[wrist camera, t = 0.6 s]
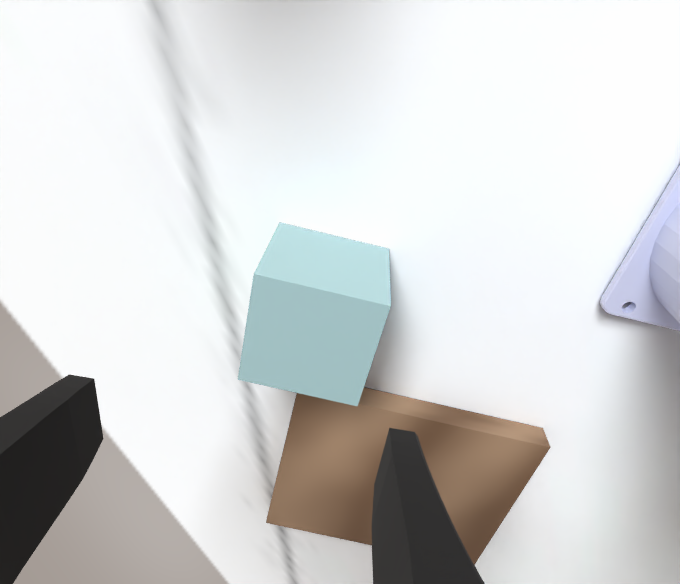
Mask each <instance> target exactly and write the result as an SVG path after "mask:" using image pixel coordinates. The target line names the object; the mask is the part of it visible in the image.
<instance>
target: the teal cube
mask: <svg viewBox="0 0 680 584" xmlns="http://www.w3.org/2000/svg"><path fill="white" fill-rule="evenodd" d="M390 307H391V293H390V260H389V249H388V248H384V247H380V246H376V245H372V244H367V243H363V242H359V241H355V240H351V239H347V238H343V237H338V236H334V235H330V234H326V233H322V232H318V231H314V230H310V229H305V228H301V227H297V226H293V225H289V224H285V223H281V222H280V223H279V225H278V227H277V229H276V231H275V233H274V235H273V237H272V239H271V241H270V243H269V245H268V247H267V249H266V251H265V253H264V255H263V257H262V259H261V261H260V263H259V265H258V267H257V269H256V271H255V273H254V276H253V283H252V290H251V296H250V303H249V309H248V316H247V322H246V329H245V335H244V342H243V349H242V355H241V362H240V368H239V375H238V380H242V381H247V382H251V383H256V384H260V385H264V386H269V387H273V388H278V389H282V390H287V391H291V392H296V393H300V394H304V395H309V396H313V397H318V398H322V399H327V400H331V401H336V402H340V403H344V404H349V405H353V406H358V403H359V400H360V397H361V394H362V391H363V388H364V385H365V382H366V379H367V376H368V373H369V370H370V367H371V364H372V361H373V358H374V355H375V352H376V349H377V346H378V343H379V340H380V337H381V334H382V331H383V328H384V325H385V322H386V319H387V316H388V313H389V310H390Z"/></svg>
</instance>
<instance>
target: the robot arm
mask: <svg viewBox="0 0 680 584" xmlns="http://www.w3.org/2000/svg"><path fill="white" fill-rule="evenodd" d="M627 302H631V304H630V305H629V306H628V307H625V308H622V306H623V305H624V304H625V303H627ZM600 305H601V307H602V308H603V309H604V310H605V312H606V313H609V314H611V315H615V316H620V317H624V318H628V319H632V320H636V321H640V322H645V323H649V324H653V325H657V326H661V327H665V328H670V329H674V330H678V331H680V165H679V167H678V169H677V170H676V172H675V174H674V175H673V177H672V179H671V180H670V182H669V184H668V185H667V187H666V189H665V191H664V192H663V194H662V196H661V197H660V199H659V201H658V202H657V204H656V206H655V207H654V209H653V211H652V213H651V214H650V216H649V218H648V219H647V221H646V223H645V224H644V226H643V228H642V229H641V231H640V233H639V235H638V236H637V238H636V240H635V241H634V243H633V245H632V246H631V248H630V250H629V251H628V253H627V255H626V257H625V258H624V260H623V262H622V263H621V265H620V267H619V268H618V270H617V272H616V273H615V275H614V277H613V279H612V280H611V282H610V284H609V285H608V287H607V289H606V290H605V292H604V294H603V295H602V297H601V300H600ZM102 440H103V434H102V427H101V420H100V414H99V407H98V401H97V394H96V388H95V381H94V379H92V378H86V377H80V376H74V375H68V376H66V377H65V378H63V379H61V380H59V381H58V382H56V383H55V384H53V385H51V386H50V387H48V388H47V389H45V390H43V391H42V392H40V393H39V394H37V395H36V396H34V397H32V398H31V399H29V400H28V401H26V402H24V403H23V404H21V405H20V406H18V407H16V408H15V409H13V410H12V411H10V412H8V413H7V414H5V415H3V416H2V417H0V584H13V583H14V581H15V579H16V578H17V576H18V575H19V573H20V572H21V570H22V568H23V567H24V566H25V564H26V563H27V561H28V560H29V558H30V557H31V555H32V554H33V552H34V551H35V549H36V548H37V546H38V545H39V543H40V542H41V540H42V539H43V537H44V536H45V535H46V533H47V531H48V530H49V528H50V527H51V526H52V524H53V523H54V521H55V520H56V518H57V517H58V515H59V514H60V512H61V511H62V509H63V508H64V507H65V505H66V503H67V502H68V501H69V499H70V497H71V496H72V495H73V493H74V492H75V490H76V488H77V487H78V485H79V484H80V482H81V481H82V479H83V477H84V476H85V474H86V472H87V469H88V468H89V466H90V464H91V462H92V461H93V459H94V456H95V455H96V452H97V451H98V448H99V446H100V444H101V442H102ZM371 527H372V560H373V584H484V582H483V580H482V578H481V576H480V575H479V573H478V571H477V569H476V568H475V566H474V564H473V562H472V560H471V558H470V556H469V555H468V553H467V551H466V549H465V547H464V545H463V543H462V541H461V539H460V537H459V535H458V533H457V531H456V529H455V527H454V525H453V523H452V521H451V519H450V516H449V514H448V512H447V510H446V508H445V505H444V503H443V501H442V499H441V497H440V494H439V492H438V489H437V487H436V485H435V482H434V480H433V477H432V475H431V472H430V470H429V467H428V464H427V462H426V459H425V456H424V454H423V451H422V448H421V445H420V442H419V438H418V436H417V434H416V433H415V432H412V431H406V430H400V429H394V428H389V431H388V435H387V439H386V442H385V446H384V450H383V453H382V457H381V461H380V465H379V468H378V472H377V476H376V479H375V483H374V496H373V510H372V526H371Z"/></svg>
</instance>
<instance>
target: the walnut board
mask: <svg viewBox="0 0 680 584" xmlns="http://www.w3.org/2000/svg"><path fill="white" fill-rule="evenodd" d="M389 428H394V429H400V430H406V431H412V432H415V433H416V434H417V436H418V438H419V442H420V445H421V448H422V451H423V454H424V456H425V459H426V462H427V464H428V467H429V470H430V472H431V475H432V477H433V480H434V482H435V485H436V487H437V489H438V492H439V494H440V497H441V499H442V501H443V503H444V505H445V508H446V510H447V512H448V514H449V516H450V519H451V521H452V523H453V525H454V527H455V529H456V531H457V533H458V535H459V537H460V539H461V541H462V543H463V545H464V547H465V549H466V551H467V553H468V555H469V556H470V558H471V560H472V562H473V564H475V563H476V561H477V560H478V558H479V557H480V555H481V554H482V552H483V550H484V549H485V547H486V546H487V544H488V543H489V541H490V540H491V538H492V537H493V535H494V533H495V532H496V530H497V529H498V527H499V526H500V524H501V523H502V521H503V520H504V518H505V517H506V515H507V513H508V512H509V510H510V509H511V507H512V506H513V504H514V503H515V501H516V500H517V498H518V496H519V495H520V493H521V492H522V490H523V489H524V487H525V486H526V484H527V483H528V481H529V480H530V478H531V476H532V475H533V473H534V472H535V470H536V469H537V467H538V466H539V464H540V463H541V461H542V459H543V458H544V456H545V455H546V453H547V452H548V450H549V449H550V445H549V443H548V440H547V438H546V435H545V432H544V430H543V428H540V427H535V426H531V425H527V424H522V423H518V422H513V421H509V420H505V419H500V418H496V417H492V416H487V415H483V414H478V413H474V412H470V411H465V410H461V409H456V408H452V407H448V406H443V405H439V404H435V403H430V402H426V401H421V400H417V399H413V398H408V397H404V396H399V395H395V394H391V393H386V392H382V391H377V390H373V389H369V388H363V391H362V394H361V397H360V400H359V403H358V406H353V405H349V404H344V403H340V402H336V401H331V400H327V399H322V398H318V397H313V396H309V395H304V394H300V393H297V395H296V399H295V403H294V407H293V412H292V416H291V420H290V424H289V428H288V432H287V437H286V441H285V445H284V449H283V453H282V457H281V462H280V466H279V470H278V474H277V478H276V482H275V487H274V491H273V495H272V499H271V503H270V508H269V512H268V516H267V521H266V523H270V524H275V525H279V526H284V527H289V528H293V529H298V530H303V531H308V532H312V533H317V534H322V535H326V536H331V537H336V538H340V539H345V540H350V541H354V542H359V543H364V544H368V545H372V527H371V526H372V510H373V496H374V483H375V479H376V476H377V472H378V468H379V465H380V461H381V457H382V453H383V450H384V446H385V442H386V439H387V435H388V431H389Z"/></svg>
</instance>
